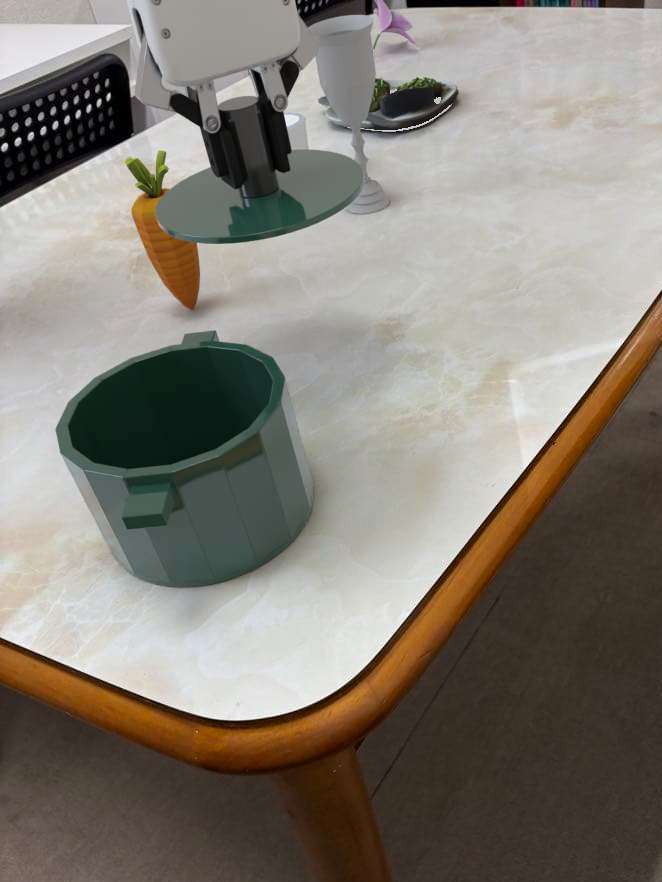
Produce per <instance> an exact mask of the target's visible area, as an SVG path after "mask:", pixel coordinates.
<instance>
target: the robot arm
mask: <svg viewBox="0 0 662 882" xmlns="http://www.w3.org/2000/svg"><path fill="white" fill-rule="evenodd" d="M125 1H126V3H127V9H128V12H129V13H128V14H129V18H130V21H131V25H132V29H133V33H134V36H135V40H136V44H137V48H138V50H139V58H138V64H137V66H138V67H137V73H136V81H135V87H134V96H135V98H136V100H138V101H139V102H140V103H141V104H143V105H145V106H148V107H152V108H155V109H158V110H159V109H160V110H162V111H167V112H171V113H177V114H178V115H180V116H181V117H183V118H184V119H186V120H188V121H189V122H190V123H193V124H194V125H195V126H197V127H199V130H200V133H201V138H202V140H203V144H204V147H205V152H206V155H207V158H208V162H209V167H211V169H212V171H213V173H214V175H215V176H216V177H218V178H219V177H221V179H222V180H223V181H224V182H225V183H227V184H228V185H229V186H231V187H232V188H234V189H235V190H236V189H239V188H242V185H244V181H243V177H242V173H241V169H240V165H239V161H238V157H237V153H236V150H235V146H234V142H233V138H232V134H231V132H230V130H229V129H227V128H225V127H224V126H223V122H222V119H221V118H220V116H219V110H218V105H219V104H218V98H217V92H216V87H215V82H214V80H217V79H221V78H224V77H227V76H231V75H234V74H237V73H241V72H244V71H247V70H248V73H249V77H250V79H251V83H252V86H253V89H254V92H255V95H256V97H258V98H259V100H260V104H261V108H262V113H263V117H264V121H265V126H266V130H267V135H268V139H269V143H270V148H271V152H272V156H273V161H274V165H275V169H276V170H277V171H279V172H282V173H286V172H289V171H290V164H289V160H288V154H291V145H290V140H289V135H288V131H287V126H286V121H285V117H284V113H285V112H284V111H286V110H287V108H288V106H289V100H288V98H289V97H290V94H291V91H292V90H293V88H294V86H295V85H296V82H297V80H298V78H299V75H300V73H301V71H303V70H305V68H306V67H307V66H308V65H309V64H310V63H311V62H312V60H314V58H315V56H316V55H317V54H318V52H319V44H318V42H317V40H316V39H315V38H314V36H313V35H312V33H311V32H310V30H309V29H308V27H309V26H308V25H306V23H305V21H304V20H303V19H302V18H301V16H300V14H299V13H298V9H297V4H296V0H125ZM162 78H163V79H164V81H165V82H166V83H168V84H169V85H171V86H175V87H184V91H185V94H183V93H181V92H180V91H178V90H176V89H171V88H167V87H165V86H163V83H162V80H163V79H162Z"/></svg>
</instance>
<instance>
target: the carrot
mask: <svg viewBox="0 0 662 882" xmlns="http://www.w3.org/2000/svg"><path fill="white" fill-rule="evenodd" d="M166 157H167V152H166V150H165V151H164V150H158V152H157V155H156V158H155V159H156V160H155V174H154V173H151V172H150V170H149V169H148V168H147V167H146V166H145V164H144V163H143V162H142V161H141V160H140V159H139V158H138V157H136V158H133V157H132V156H128V157H127V158H126V159H125V161H124V164H125V166H126V167H127V169H128V170H129V172H130V173H131V174H132V176H133V177H134V178H135V179H136V181H137V182H136V183H135V184H134V186H135V187H136V188H137V189H139V190H140V191H142V192H143V193H141V194H140V195H138V196H137V198H136V200H135V201H134V202H133V205H132V206H131V208H130V209H131V216H132V219H133V223H134V225H135V227H136V230H137V232H138V235H139V237H140V241H141V243H142V245H143V247H144V250H145V252H146V255H147V257H148V259H149V261H150V263H151V264H152V266H153V268H154V270H155V272H156V273H157V275H158V277H159V278H160V280H161V282H162V283H163V285H164V286H165V288H167V290H168V291H169V292H170V293H171V295H172V296H173V297H174V298H175V299H176V300H177V301H178V302H179V303H180V304H182V305H183V307H185V308H186V309H189V310H191V311H192V310H194V309H195V307H196V306H197V303H198V298H199V294H200V293H199V292H200V284H201V281H200V280H201V267H200V256H199V249H198V243H194V242H189V241H184V240H181V239H178V238H175V237H173V236H171V235H169V234H167V233H166V232H164V231H163V230H162V229H161V227H160V226H159V224H158V221H157V218H156V215H155V210H156V207H157V204H158V202H159V201H160V199H161V198H162V197H163V195H164V194H165V193H166V192H167V191H169V190H170V189H171V188H166V187H163V181H164V178H165V175H166V174H167V173H168V172H169V167H168V166H167V165H165V163H166Z"/></svg>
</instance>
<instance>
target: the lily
mask: <svg viewBox="0 0 662 882" xmlns="http://www.w3.org/2000/svg"><path fill="white" fill-rule="evenodd" d="M374 2H375V4H376V6H377V7H376V8H374V9H373V13H374V15H376V16H378V25H379V32H378V33H377V36H376V38H375V40H374V43H373V45H372V49H374V50H375V49H376V45H377V43H378V40H379V38H380V36H381V34H383V33H390V34H391V33H392V34H397V35H400V36H401V35H402V36H404V37H405V38H407V39H408V41H409V42H410V43H411V44H412V43H413V44H416V42H415V41H414V40H413V38H412V37H411V36H410V35H409V33H407V32H408V31H410V30H412V29H413V28H414V25H413V24H412V22H411V21H410V20H409V19H408V18H406V17H405V15H403V14H402V13H400V12H399V11H396V9H394V10H390V8H389V7H388V5H387V4H386V3H385V1H384V0H374ZM402 36H401V37H402ZM413 44H412V45H413ZM417 50H419V51H420V48H419V49H417Z"/></svg>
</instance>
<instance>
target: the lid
mask: <svg viewBox="0 0 662 882" xmlns="http://www.w3.org/2000/svg"><path fill="white" fill-rule="evenodd" d="M218 110H219V116H220V118H221V119H222V122H223V126H224V127H225V128H227V129H229V130H230V132H231V134H232V138H233V142H234V146H235V150H236V153H237V157H238V161H239V165H240V169H241V173H242V177H243V181H244V185H242V188H239V189H236V190H235V189H234V188H232V187H231V186H229V185H228V184H227V183H225V182H224V181H223V180H222V179H221V177H219V178H218V177H216V176H215V175H214V173H213V171H212V169H211V166H209V167H207V168H205V169H202V170H200V171H198V172H196V173H194V174H192V175H190V176H187V177H186V178H185V179H182V180H180V182H178V183H176V184H175V185H174V186H172V187H171V188H169V189H170V190H169V191H167V192H166V193H165V194H164V195H163V197H162V198H161V199H160V201H159V202H158V204H157V207H156V210H155V215H156V218H157V221H158V224H159V226H160V227H161V229H162V230H163V231H164V232H166V233H167V234H169V235H171V236H173V237H175V238H178V239H181V240H184V241H189V242H194V243H197V244H203V245H205V244H206V245H229V244H240V243H250V242H257V241H263V240H267V239H271V238H278V237H280V236H285V235H288V234H291V233H292V234H293V233H295V232H297V231H301V230H303V229H307V228H310V227H311V226H314V225H317V224H319V223H321V222H323V221H325V220H328V219H329V218H331V217H333V216H334V215H337V214H338V213H340V212H341V211H343V210H344V209H346V207H347V206H348V205H349V204H351V203H352V202H353V201H354V200H355V199H356V198H357V197H358V195H359V194H360V193H361V191H362V189H363V186H364V182H365V181H364V173H363V170H362V168H361V166H360V165H359V164H358V163H357V162H356V161H355V160H354V159H353V158H352V157H349V156H347V155H345V154H342V153H338V152H335V151H330V150H320V149H309V148H308V149H309V150H308V149H302V150H291V154H288V160H289V164H290V171H289V172H286V173H282V172H279V171H277V170H276V169H275V165H274V161H273V156H272V152H271V148H270V143H269V139H268V135H267V130H266V126H265V121H264V117H263V113H262V108H261V104H260V100H259V98H258V97H257V96H254V95H241V96H236V97H231V98H229V99H226V100H224V101H221V102H219V104H218Z"/></svg>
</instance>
